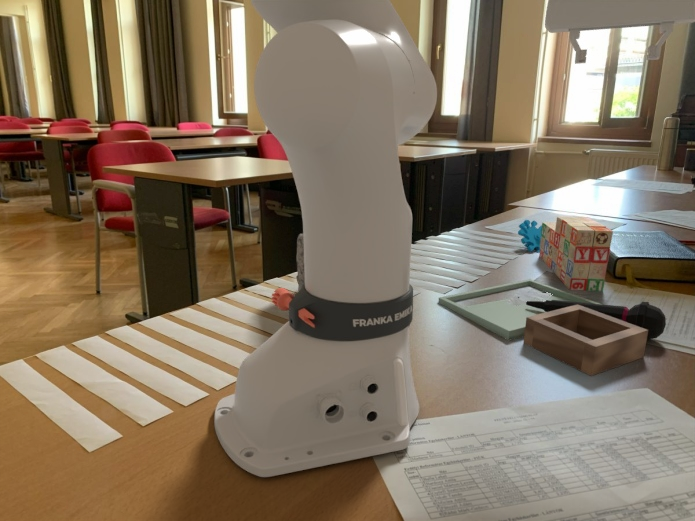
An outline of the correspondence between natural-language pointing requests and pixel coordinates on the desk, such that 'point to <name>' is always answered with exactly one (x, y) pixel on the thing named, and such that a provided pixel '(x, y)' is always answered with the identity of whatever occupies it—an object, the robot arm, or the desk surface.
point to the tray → (505, 308)
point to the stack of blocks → (577, 251)
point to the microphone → (617, 313)
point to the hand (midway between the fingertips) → (615, 61)
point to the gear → (530, 235)
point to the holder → (585, 338)
